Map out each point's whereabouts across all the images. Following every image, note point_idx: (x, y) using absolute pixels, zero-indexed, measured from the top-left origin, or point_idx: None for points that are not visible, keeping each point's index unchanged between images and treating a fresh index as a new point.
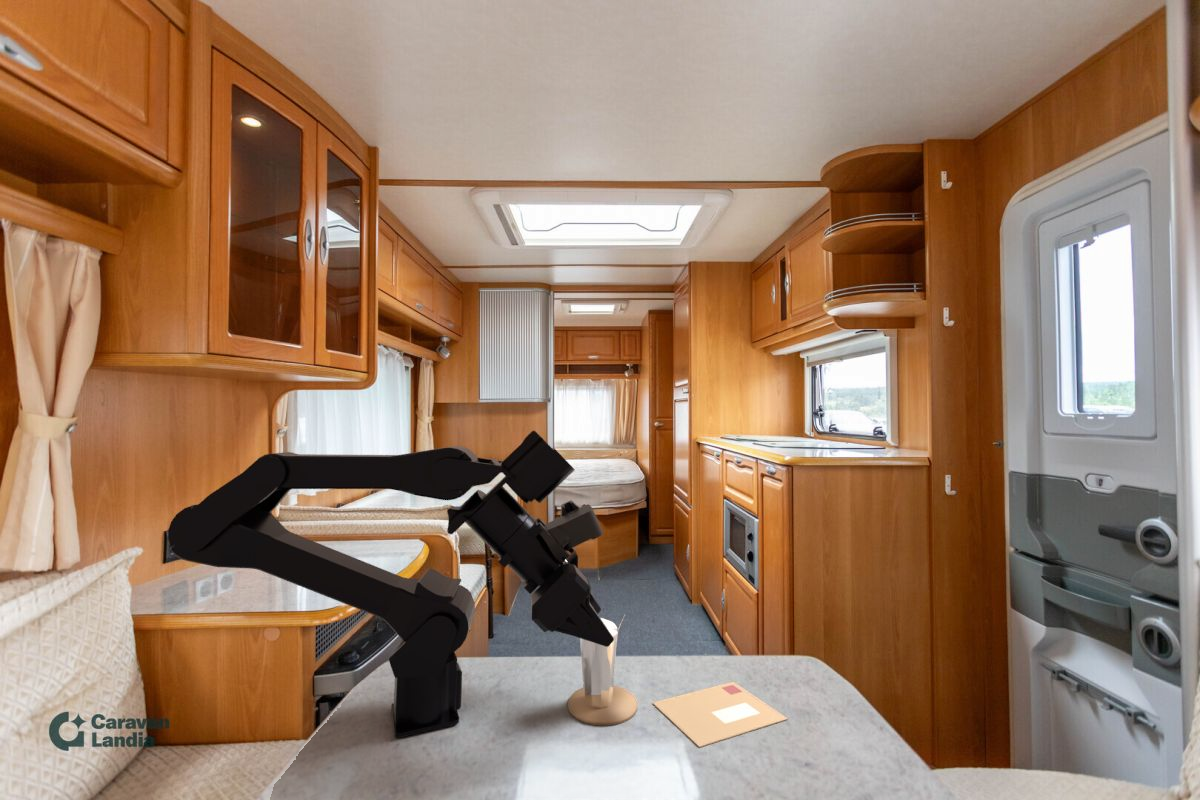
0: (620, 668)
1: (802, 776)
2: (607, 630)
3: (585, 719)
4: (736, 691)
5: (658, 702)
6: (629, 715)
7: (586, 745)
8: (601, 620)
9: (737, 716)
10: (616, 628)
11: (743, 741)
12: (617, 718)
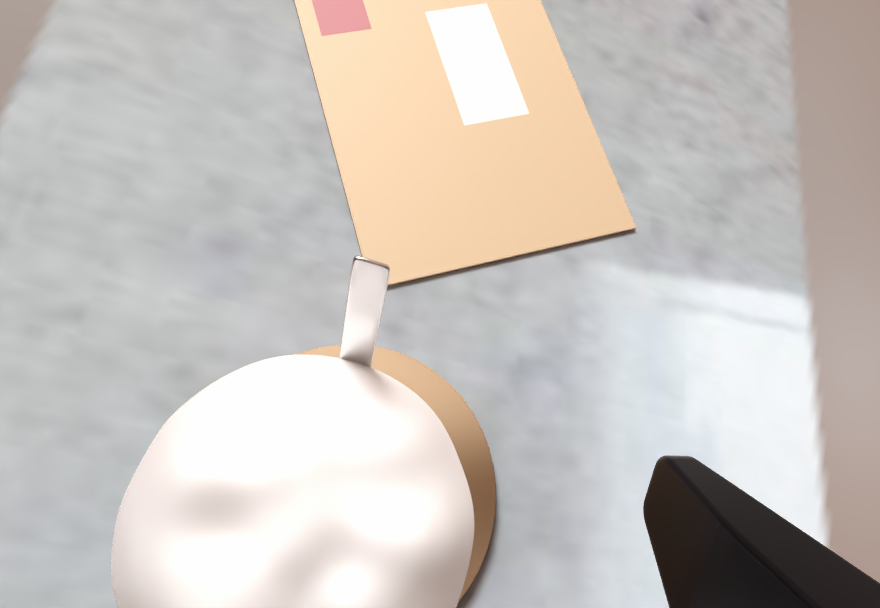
0: (39, 343)
1: (745, 48)
2: (788, 522)
3: (464, 591)
4: (354, 5)
5: None
6: (462, 400)
7: (606, 604)
8: (864, 604)
9: (498, 66)
10: (356, 369)
11: (609, 105)
12: (480, 452)
